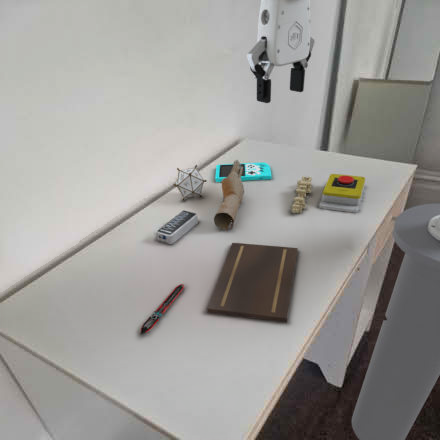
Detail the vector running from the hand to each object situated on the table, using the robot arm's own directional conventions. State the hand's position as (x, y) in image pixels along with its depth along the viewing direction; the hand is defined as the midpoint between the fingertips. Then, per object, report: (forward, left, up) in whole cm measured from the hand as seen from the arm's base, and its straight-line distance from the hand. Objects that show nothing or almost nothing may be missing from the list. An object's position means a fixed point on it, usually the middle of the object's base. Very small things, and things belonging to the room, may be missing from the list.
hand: (280, 96), depth 74 cm
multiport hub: (+21, +12, -26) cm, 36 cm away
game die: (+23, -5, -26) cm, 35 cm away
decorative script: (-6, -7, -26) cm, 27 cm away
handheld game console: (+12, -21, -26) cm, 36 cm away
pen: (+15, +38, -26) cm, 48 cm away
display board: (0, +27, -26) cm, 37 cm away
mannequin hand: (+11, -2, -26) cm, 28 cm away
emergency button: (-16, -10, -26) cm, 32 cm away
